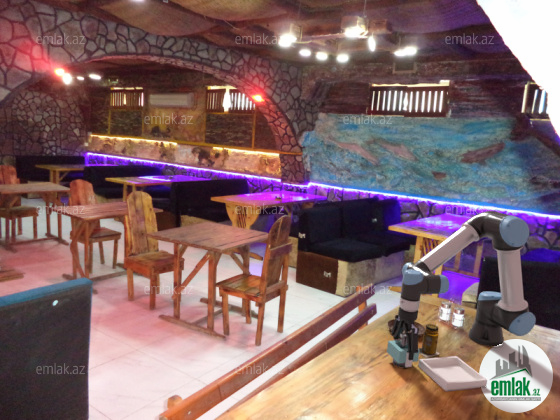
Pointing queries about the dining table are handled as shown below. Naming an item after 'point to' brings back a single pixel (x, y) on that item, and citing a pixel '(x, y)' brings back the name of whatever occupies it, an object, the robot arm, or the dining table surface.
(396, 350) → the collar
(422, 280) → the robot arm
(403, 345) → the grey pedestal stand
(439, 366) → the tray
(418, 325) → the plant saucer
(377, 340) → the dining table surface
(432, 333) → the condiment
